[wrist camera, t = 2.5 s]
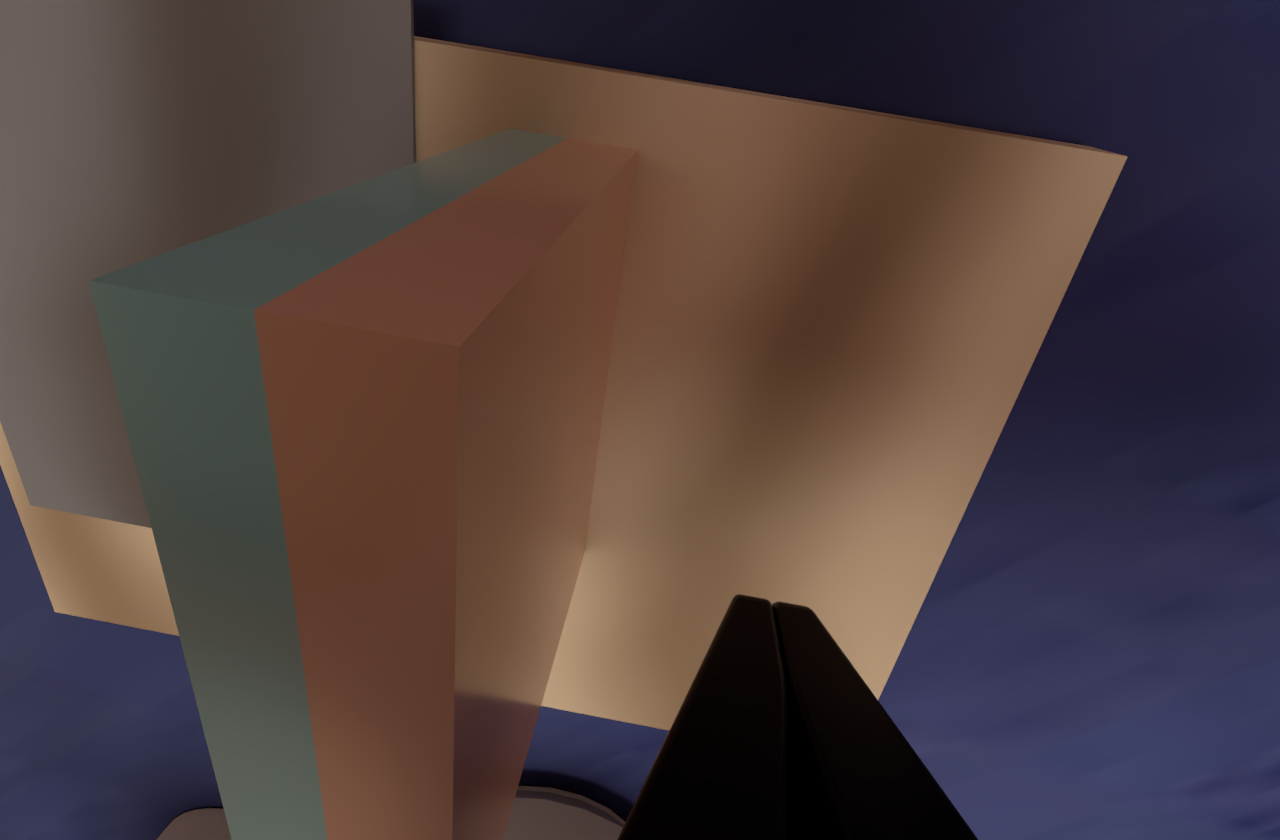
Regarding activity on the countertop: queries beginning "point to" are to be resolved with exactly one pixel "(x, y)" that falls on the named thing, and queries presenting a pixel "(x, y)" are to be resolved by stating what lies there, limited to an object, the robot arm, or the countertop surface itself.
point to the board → (645, 317)
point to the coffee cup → (198, 826)
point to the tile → (378, 476)
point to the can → (559, 817)
